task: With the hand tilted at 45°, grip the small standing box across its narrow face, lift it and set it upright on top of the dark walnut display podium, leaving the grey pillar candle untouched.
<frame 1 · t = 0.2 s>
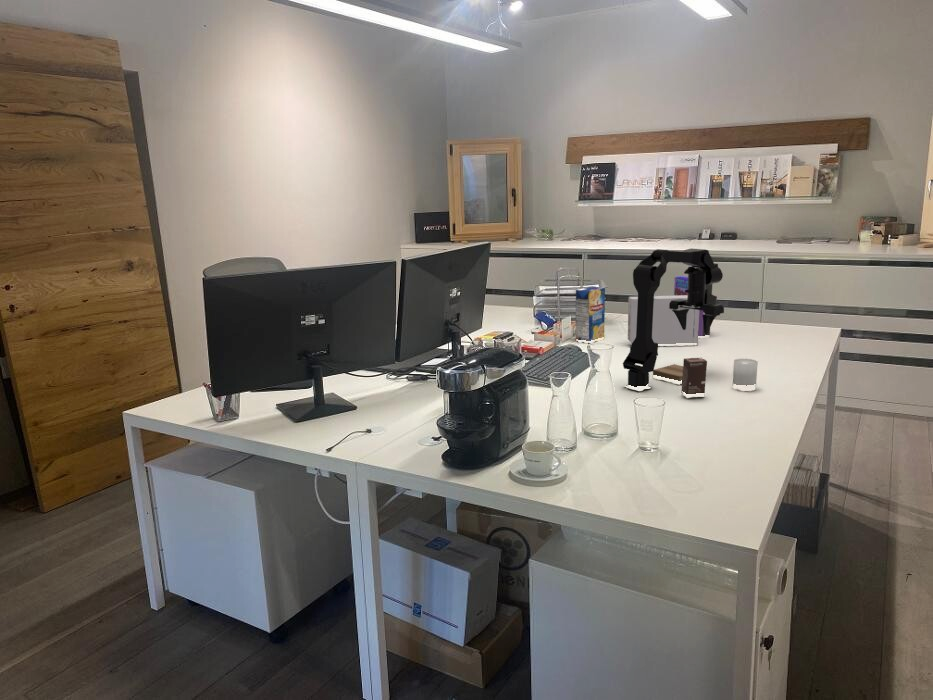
hand: (695, 331, 242), 15 cm above the table, tool pointing down, fingers open, 9 cm apart
beverage box: (589, 341, 298), on the table
box: (693, 397, 220), on the table
game console: (662, 346, 285), on the table
podium: (676, 378, 239), on the table
grey pillar candle: (744, 388, 226), on the table
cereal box: (690, 335, 303), on the table
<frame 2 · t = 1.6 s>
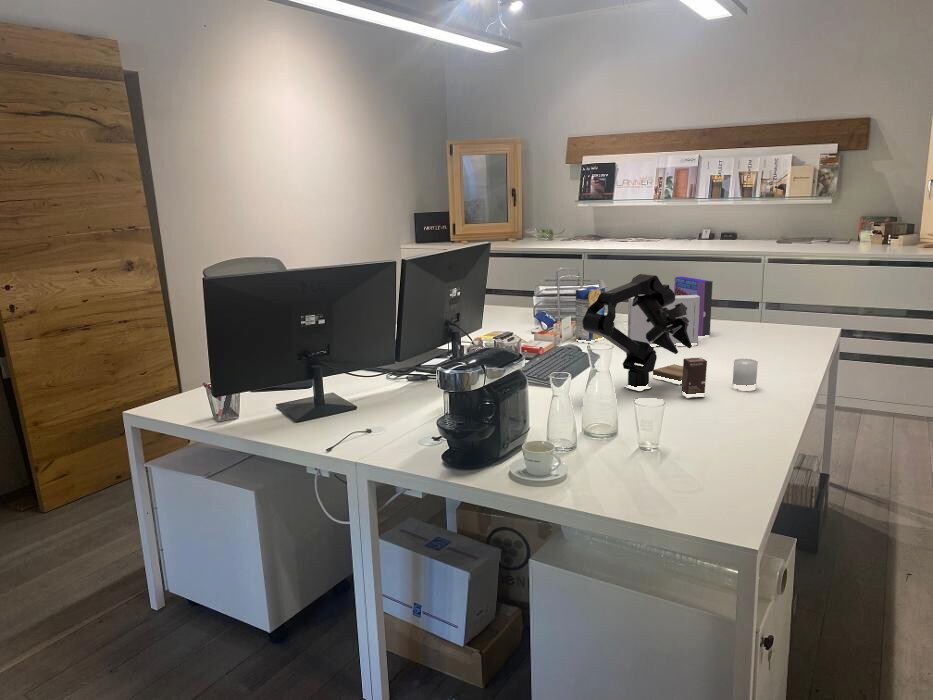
hand: (684, 350, 221), 14 cm above the table, tool tilted 45°, fingers open, 9 cm apart
nothing on the table moved.
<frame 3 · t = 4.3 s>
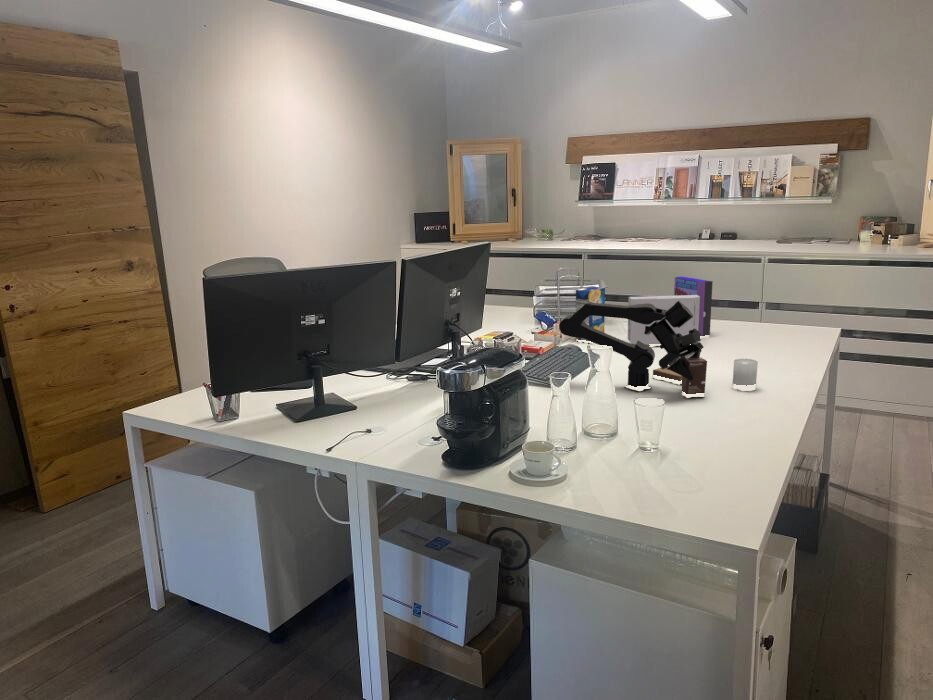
hand: (698, 377, 217), 7 cm above the table, tool tilted 45°, fingers closed on box, 7 cm apart
box: (693, 397, 220), on the table, touching gripper
everything else where it was.
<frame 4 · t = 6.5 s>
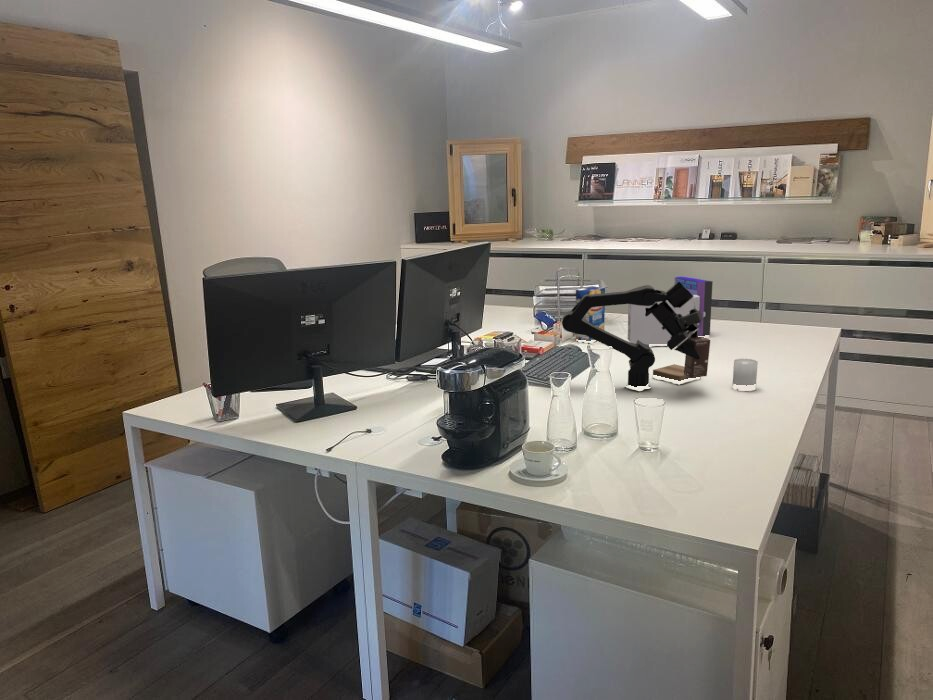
hand: (701, 356, 220), 12 cm above the table, tool tilted 45°, fingers closed on box, 7 cm apart
box: (695, 376, 222), point 5 cm above the table, touching gripper
everything else where it was.
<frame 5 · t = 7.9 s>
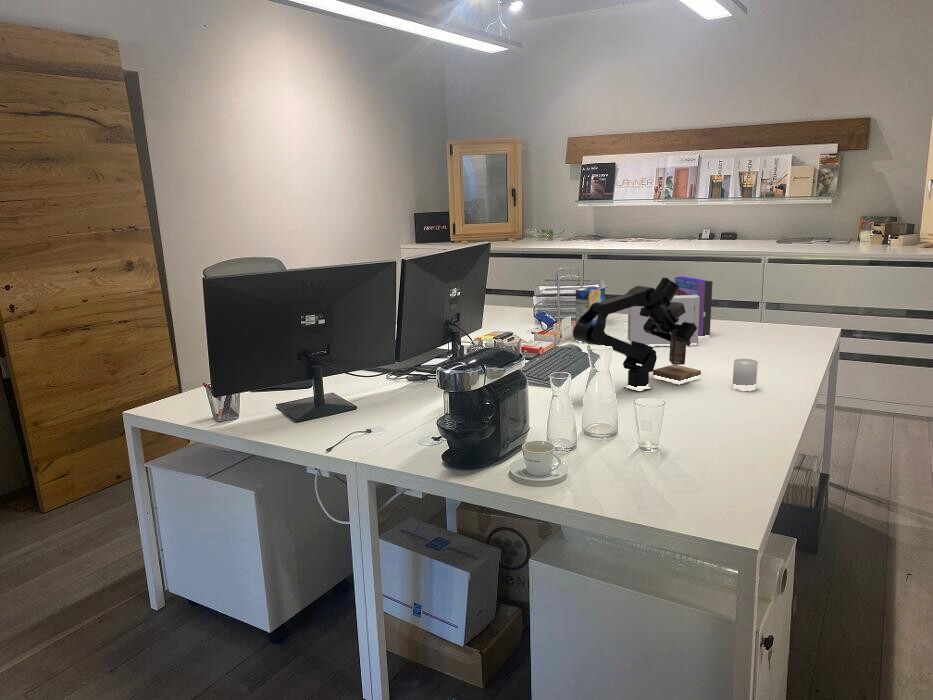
hand: (680, 342, 237), 12 cm above the table, tool tilted 45°, fingers closed on box, 7 cm apart
box: (677, 363, 238), point 5 cm above the table, touching gripper
everything else where it was.
when the fingers open (11 cm above the table, at t = 9.2 s): box stays where it is, resting on podium.
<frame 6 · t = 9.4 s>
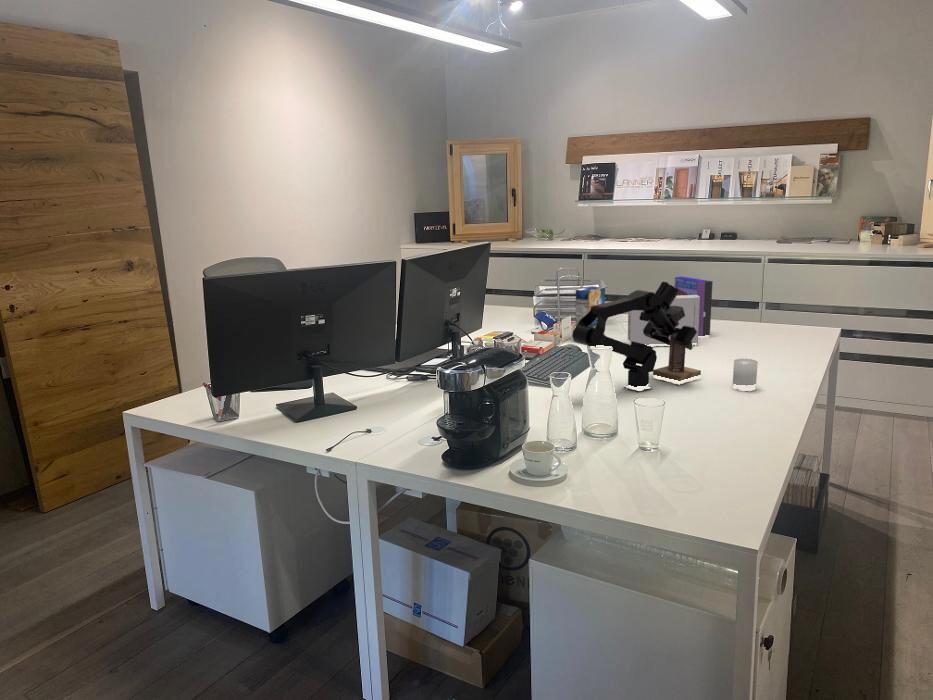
hand: (680, 346, 237), 11 cm above the table, tool tilted 45°, fingers open, 9 cm apart
box: (676, 370, 239), point 3 cm above the table, touching podium
everything else where it was.
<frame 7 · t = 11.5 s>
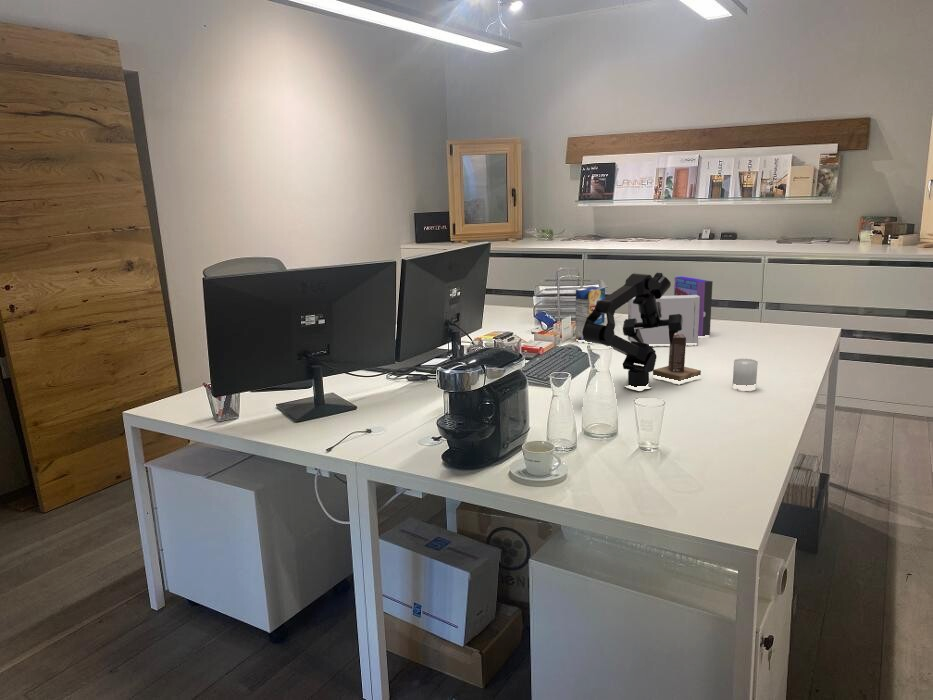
hand: (657, 344, 236), 12 cm above the table, tool tilted 30°, fingers open, 9 cm apart
nothing on the table moved.
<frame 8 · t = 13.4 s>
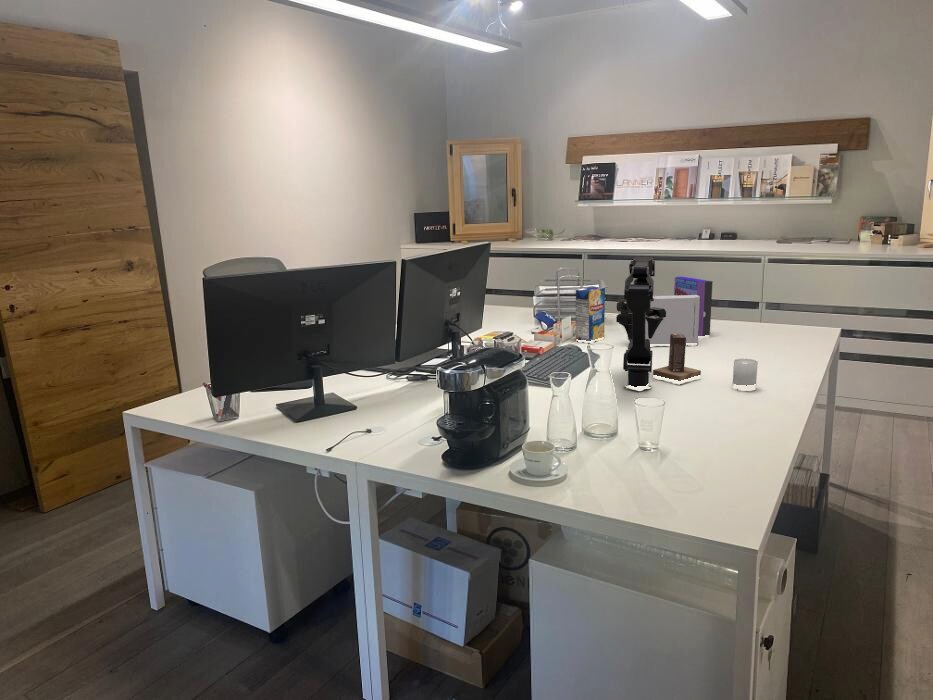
hand: (640, 340, 239), 13 cm above the table, tool pointing down, fingers open, 9 cm apart
nothing on the table moved.
at the end: box inside the target area on the podium (0.1 cm from its centre), point 2.8 cm above the podium's base; box tilted 0°; the gripper is holding nothing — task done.
